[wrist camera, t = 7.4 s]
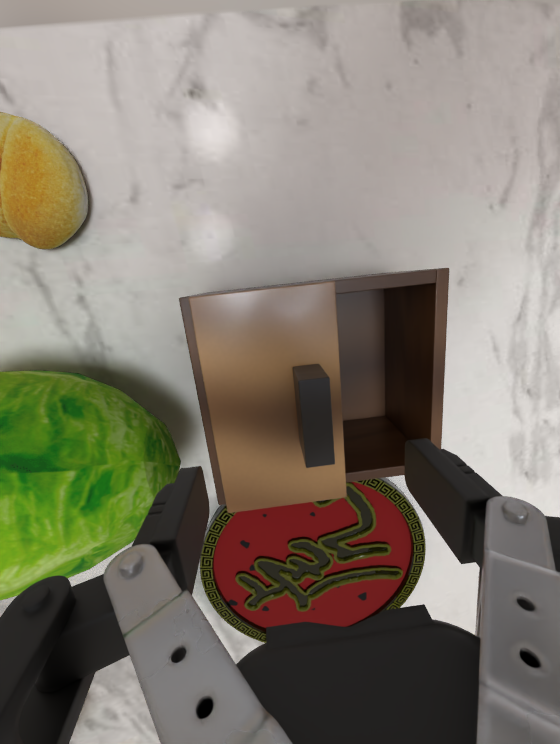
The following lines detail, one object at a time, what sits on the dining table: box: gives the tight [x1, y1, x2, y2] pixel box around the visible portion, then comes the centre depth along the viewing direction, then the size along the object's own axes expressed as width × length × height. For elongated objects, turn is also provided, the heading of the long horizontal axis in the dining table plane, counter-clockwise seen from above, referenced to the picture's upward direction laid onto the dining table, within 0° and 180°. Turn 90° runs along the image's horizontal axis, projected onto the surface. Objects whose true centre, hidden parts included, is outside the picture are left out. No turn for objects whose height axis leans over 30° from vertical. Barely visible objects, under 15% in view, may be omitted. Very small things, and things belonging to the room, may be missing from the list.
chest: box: [179, 268, 449, 505], centre depth 24 cm, size 14×16×10 cm
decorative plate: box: [200, 477, 425, 643], centre depth 35 cm, size 25×1×25 cm
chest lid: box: [188, 281, 347, 513], centre depth 18 cm, size 14×8×3 cm, turn 6°
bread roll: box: [0, 112, 88, 249], centre depth 22 cm, size 8×9×4 cm
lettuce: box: [0, 370, 181, 600], centre depth 22 cm, size 15×23×16 cm
